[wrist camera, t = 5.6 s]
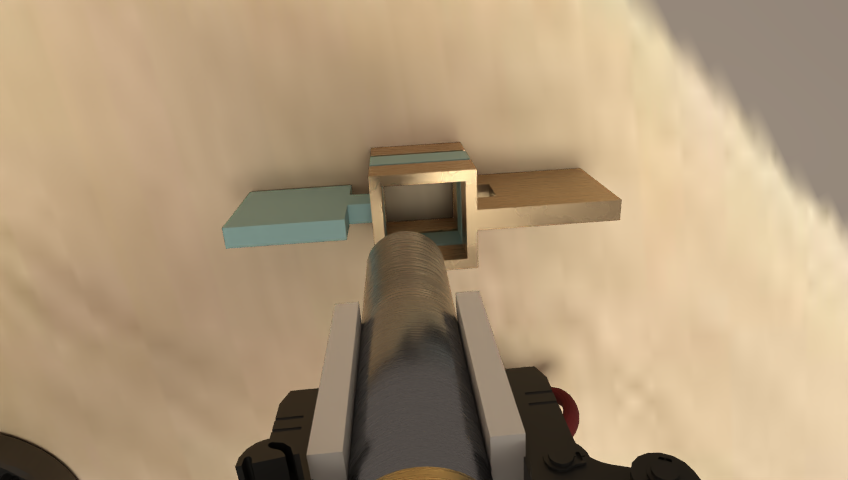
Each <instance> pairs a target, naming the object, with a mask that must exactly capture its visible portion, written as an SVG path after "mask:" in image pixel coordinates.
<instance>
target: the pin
mask: <svg viewBox="0 0 848 480" xmlns="http://www.w3.org/2000/svg"><path fill="white" fill-rule="evenodd" d="M348 480H493V478H492V474H491V470H490V465H489V461H488V456H487V452H486V447H485V443H484V438H483V434H482V430H481V425H480V421H479V416H478V412H477V407H476V403H475V398H474V394H473V389H472V385H471V380H470V376H469V371H468V367H467V362H466V358H465V353H464V349H463V344H462V340H461V335H460V331H459V326H458V322H457V317H456V312H455V308H454V303H453V299H452V295H451V290H450V286H449V281H448V277H447V272H446V268H445V263H444V259H443V255H442V253H441V251H440V249H439V247H438V246H437V245H436V244H435V242H433V241H432V240H431V239H430V238H428V237H427V236H425V235H423V234H420V233H417V232H413V231H400V232H395V233H392V234H389V235H387V236H385V237H384V238H382V239H381V240H380V241H378V242H377V243H376V244H375V246H374V247H373V248H372V250H371V252H370V254H369V257H368V261H367V270H366V281H365V292H364V303H363V314H362V326H361V337H360V348H359V359H358V370H357V381H356V392H355V403H354V414H353V425H352V436H351V447H350V458H349V469H348Z"/></svg>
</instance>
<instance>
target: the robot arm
mask: <svg viewBox="0 0 848 480" xmlns="http://www.w3.org/2000/svg"><path fill="white" fill-rule="evenodd" d="M456 308H457V322H458V326H459V331H460V335H461V340H462V344H463V349H464V353H465V358H466V362H467V367H468V371H469V376H470V380H471V385H472V389H473V394H474V398H475V403H476V407H477V412H478V416H479V421H480V425H481V430H482V434H483V438H484V443H485V447H486V452H487V456H488V461H489V465H490V470H491V474H492V478H493V480H701V479H700V478H699V477H698V475H697V474H696V473H695V472H694V470H692V469H691V468H690V467H689V466H688V465H687V464H686V463H685V462H683V461H681V460H679V459H678V458H676V457H674V456H671V455H667V454H663V453H646V454H644V455H641V456H638V457H637V458H636V459H635V460H634V461H633V462H632V466H631V468H630V467H624V466H617V465H611V464H607V463H603V462H600V461H597V460H595V459H593V458H591V457H589V455H588V453H587V452H586V451H585V450H584V449H583V448H582V447H581V446H580V445H578V444H576V443H575V441H574V439H573V437H572V434H571V432H570V430H569V427H568V425H567V423H566V421H565V418H564V416H563V414H562V411H561V409H560V407H559V405H558V403H557V400H556V398H555V395H554V393H553V392H552V388H551V386H550V384H549V382H548V379H547V377H546V376H545V375H544V374H542V373H541V372H540V371H539V370H538V369H537V368H535V367H534V366H533V367H523V368H512V369H504V366H503V363H502V360H501V357H500V354H499V351H498V348H497V344H496V341H495V338H494V335H493V332H492V329H491V326H490V323H489V320H488V317H487V314H486V311H485V308H484V305H483V302H482V299H481V296H480V292H479V291H470V292H459V293H456ZM361 326H362V323H361V316H360V308H359V302H350V303H339V304H335V307H334V312H333V318H332V323H331V328H330V333H329V339H328V344H327V349H326V354H325V360H324V365H323V370H322V375H321V381H320V386H319V388H317V389H306V390H296V391H290V392H289V394H288V395H287V396H286V397H285V398H284V399H283V401H282V402H281V403H280V404H279V408H278V411H277V415H276V421H275V422H274V425H273V429H272V432H271V436H270V439H266V440H263V441H260V442H257V443H256V444H254V445H253V446H251V447H249V448H248V449H246V450H245V452H244V453H243V454H242V455H241V456H240V457H239V459H238V461H237V464H236V466H235V468H236V471H237V475H238V479H239V480H348V469H349V458H350V447H351V436H352V425H353V414H354V403H355V392H356V381H357V370H358V359H359V348H360V337H361ZM0 480H76V478H75V477H74V476H73V475H72V473H71V472H70V471H69V470H68V469H67V468H66V467H65V466H64V465H62V464H61V463H60V462H59V461H58V460H56V459H55V458H54V457H52V456H51V455H49V454H48V453H46V452H44V451H43V450H41V449H39V448H37V447H35V446H33V445H31V444H29V443H26V442H24V441H21V440H19V439H16V438H13V437H9V436H6V435H2V434H0Z"/></svg>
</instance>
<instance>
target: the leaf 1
mask: <svg viewBox="0 0 848 480" xmlns="http://www.w3.org/2000/svg"><path fill="white" fill-rule="evenodd" d="M458 160H470V158H469V156H468V154H467V153H466V151H453V152H438V153H423V154H408V155H393V156H378V157H370V164H369V166H383V165H398V164H413V163H428V162H443V161H458ZM456 185H457V217H458V231H446V232H432V233H420V234H423V235H425V236H427V237H428V238H430V239H431V240H432V241H433V242H435V244H436V245H437V246H445V245H458V244H463V242H462V206H461V181H458V182H456ZM382 198H383V210H384V221H385V233H386V236H387V232H386V220H385V208H384V196H383V187H382ZM359 223H372V213H371V203H370V194H356V195H352V185H345V186H330V187H315V188H301V189H286V190H272V191H257V192H250V193H249V194H248V196H247V197H246V198H245V199H244V201H243V202H242V203H241V205H240V206H239V207H238V208H237V210H236V211H235V212H234V213H233V215H232V216H231V217H230V219H229V220H228V221H227V222H226V224H225V225H224V226H223V227H222V231H223V236H224V241H225V245H226V249H227V248H241V247H255V246H269V245H282V244H296V243H310V242H324V241H338V240H347V235H348V230H349V224H359Z"/></svg>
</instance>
